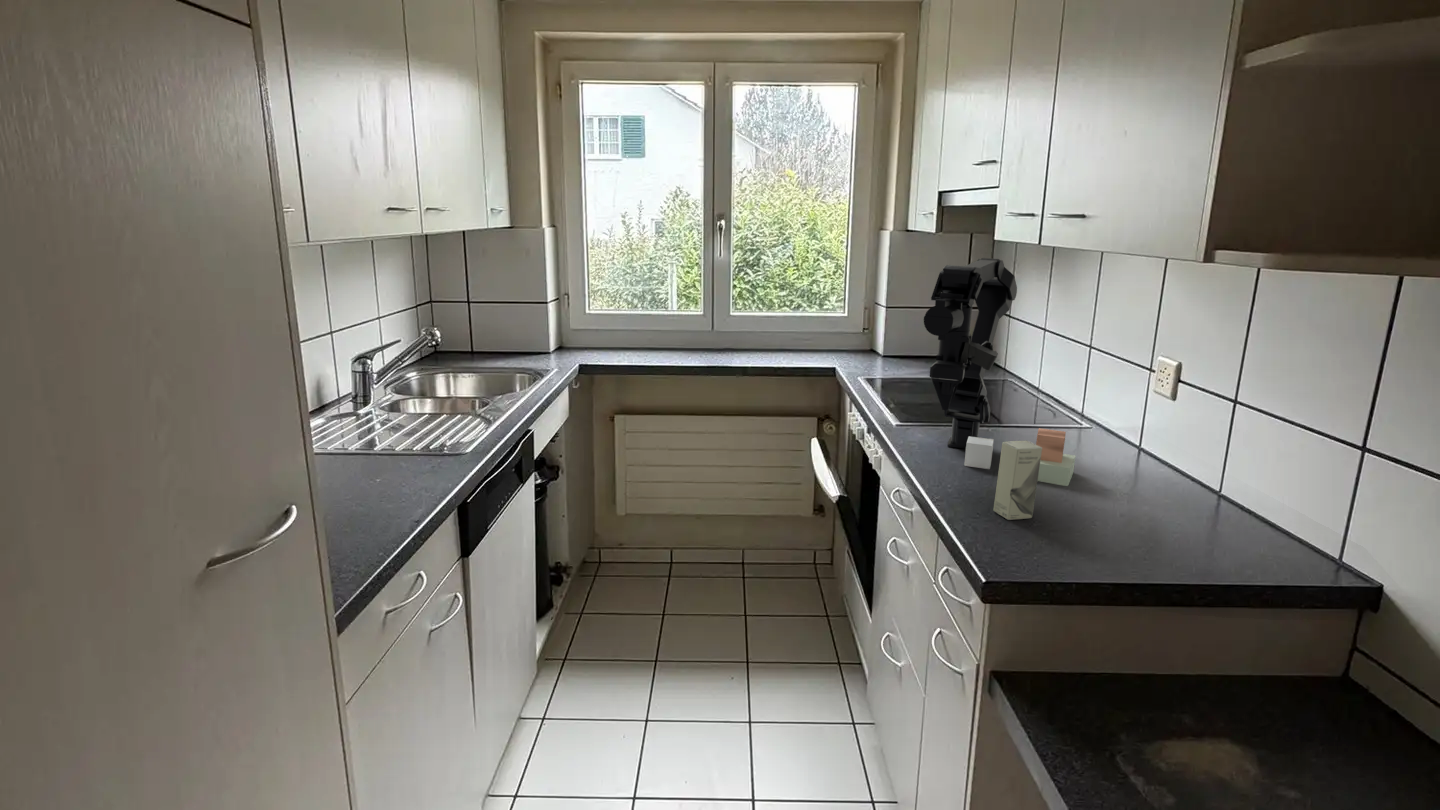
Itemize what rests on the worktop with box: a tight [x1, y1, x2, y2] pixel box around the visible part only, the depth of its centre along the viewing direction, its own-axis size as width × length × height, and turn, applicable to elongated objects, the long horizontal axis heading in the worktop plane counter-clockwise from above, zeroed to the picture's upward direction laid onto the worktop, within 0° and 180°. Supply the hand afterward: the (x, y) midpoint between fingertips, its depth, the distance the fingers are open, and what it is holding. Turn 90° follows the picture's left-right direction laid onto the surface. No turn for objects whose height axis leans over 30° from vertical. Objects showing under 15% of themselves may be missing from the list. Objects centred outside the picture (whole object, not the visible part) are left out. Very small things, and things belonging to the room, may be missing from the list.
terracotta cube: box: [1035, 427, 1067, 463], centre depth 153 cm, size 5×5×5 cm
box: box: [992, 440, 1042, 521], centre depth 132 cm, size 5×4×13 cm
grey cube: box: [963, 436, 995, 470], centre depth 159 cm, size 5×5×5 cm
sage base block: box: [1037, 453, 1076, 487], centre depth 154 cm, size 9×9×4 cm
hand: (947, 404), depth 159 cm, fingers open, 9 cm apart
